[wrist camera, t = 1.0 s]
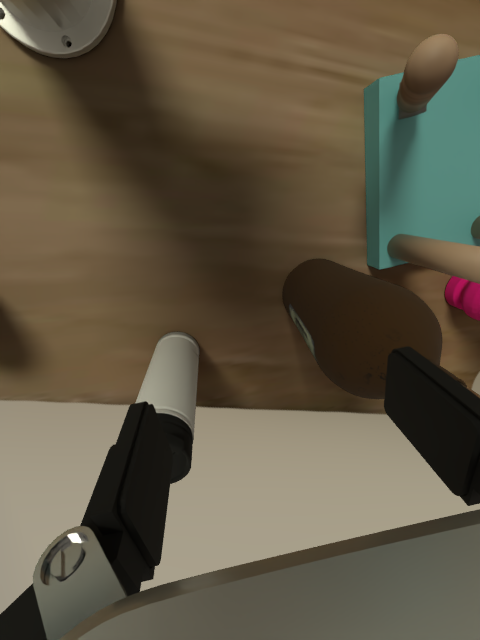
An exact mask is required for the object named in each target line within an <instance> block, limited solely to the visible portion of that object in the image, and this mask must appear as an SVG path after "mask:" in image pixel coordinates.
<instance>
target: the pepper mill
mask: <svg viewBox="0 0 480 640" xmlns="http://www.w3.org/2000/svg"><path fill="white" fill-rule="evenodd" d="M445 298H446V300H447V302H448V303H449V304H450V305H452V306H454V307H457V308H459V309H462V310H464V312H465V313H466V314H467V315H468V316H469V317H471V318H473V319H476V320H479V321H480V284H478V283H475V282H472V281H468V280H465V279H462V278H459V277H455V276H452V278H451V279H450V280H449V282H448V284H447V286H446V289H445Z"/></svg>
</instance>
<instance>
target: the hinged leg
mask: <svg viewBox="0 0 480 640" xmlns="http://www.w3.org/2000/svg"><path fill="white" fill-rule="evenodd" d="M458 56H459V49H458V44H457V43H456V41H455V39H454V38H453V37H451V36H449V35H446V34H437V35H433V36H431V37H429V38H427V39H426V40H424V41H423V42H422V43H421V44H419V45H418V46H417V48H416V49H415V50H414V51H413V53H412V54H411V56H410V57H409V59H408V62H407V64H406V67H405V70H404V74H403V77H402V80H401V82H400V83H399V90H398V94H397V105H398V107H399V120H400V119H405V118H409V117H412V116H416V115H419V114H422V113H424V112H426V111H427V104H428V102H429V101H430V100H431V99H432V98H433V97H434V95H435V94H436V93H437V92H438V91H439V90H440V88H441V87H442V86H443V85H444V84H445V83H446V81H447V80H448V79H449V78H450V76H451V75H452V73H453V71H454V69H455V67H456V64H457V61H458Z"/></svg>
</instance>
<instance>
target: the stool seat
mask: <svg viewBox="0 0 480 640" xmlns="http://www.w3.org/2000/svg"><path fill="white" fill-rule="evenodd" d="M403 74H404V73H399V74H395V75H391V76H386V77H382V78H379V79H377V80H376V81H375V82H373V83H372V84H371V85H369V86H368V87H366V88H365V89H364V118H365V170H366V222H367V265H369V266H371V267H374V268H377V269H379V270H380V269H384V268H389V267H393V266H397V265H401V264H405V263H412V264H416V265H419V266H422V267H426V268H429V269H432V270H435V271H439V272H442V273H445V274H449V275H452V276H455V277H459V278H462V279H465V280H468V281H472V282H475V283H478V284H480V55H477V56H473V57H469V58H464V59H460V60H458V61H457V64H456V67H455V69H454V71H453V73H452V75H451V76H450V78H449V79H448V80H447V81H446V83H445V84H444V85H443V86H442V87H441V88H440V90H439V91H438V92H437V93H436V94H435V95H434V97H433V98H432V99H431V100H430V101H429V102H428V104H427V111H426V112H424V113H422V114H419V115H416V116H412V117H409V118H405V119H400V120H399V107H398V105H397V94H398V90H399V83H400V82H401V80H402V77H403Z"/></svg>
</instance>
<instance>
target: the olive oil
mask: <svg viewBox="0 0 480 640" xmlns="http://www.w3.org/2000/svg"><path fill="white" fill-rule="evenodd" d="M283 302H284V305H285V307H286V309H287V311H288V313H289V314H290V316H291V317H292V319H293V321H294V323H295V324H296V326H297V328H298V329H299V331H300V333H301V335H302V336H303V338H304V340H305V342H306V343H307V345H308V347H309V349H310V350H311V352H312V354H313V356H314V358H315V360H316V361H317V363H318V365H319V367H320V368H321V370H322V371H323V372H324V373H325V375H326V376H327V377H328V378H329V379H330V380H331V381H332V382H334V383H335V384H336V385H338V386H339V387H341V388H342V389H344V390H346V391H347V392H349V393H351V394H354V395H356V396H360V397H363V398H369V399H385V387H386V374H387V361H388V355H389V354H391V351H392V350H393V349H397V348H402V347H406V346H409V347H411V348H413V349H414V350H415V351H417V352H418V353H419V354H421V355H422V356H424V357H425V358H426V359H428V360H429V361H430V362H432V363H433V364H434V365H436V366H437V367H438V368H440V369H441V370H443V371H444V372H445V373H447V374H448V375H449V376H451V377H452V378H453V379H455V380H456V381H457V382H459V383H460V384H462V385H463V386H464V387H466V388H467V386H466V384H465V383H464V381H462V380H461V379H459V378H457V377H456V376H455V375H453V374H452V373H450V372H449V371H447V370H446V369H444V368H443V367H441V366H439V365H440V357H441V350H442V333H441V328H440V325H439V322H438V320H437V318H436V316H435V315H434V313H433V312H432V311H431V309H430V308H429V307H428V306H427V305H426V303H425V302H424V301H423V300H422V299H420V298H419V297H418V296H417V295H416V294H414V293H413V292H411V291H409V290H407V289H405V288H403V287H401V286H398V285H395V284H392V283H389V282H386V281H384V280H381V279H378V278H375V277H372V276H369V275H366V274H364V273H361V272H358V271H355V270H353V269H350V268H347V267H345V266H342V265H340V264H337V263H335V262H332V261H330V260H326V259H312V260H308V261H306V262H303V263H301V264H300V265H298V266H297V267H296V268H295V269H294V270H293V271H292V272H291V273H290V274H289V276H288V277H287V279H286V281H285V284H284V287H283ZM467 389H468V390H470V391H471V392H472V393H474V394H475V395H476V396H478V397H479V398H480V395H478V394H477V393H476V392H474V391H473V390H471V389H469V388H467Z"/></svg>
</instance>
